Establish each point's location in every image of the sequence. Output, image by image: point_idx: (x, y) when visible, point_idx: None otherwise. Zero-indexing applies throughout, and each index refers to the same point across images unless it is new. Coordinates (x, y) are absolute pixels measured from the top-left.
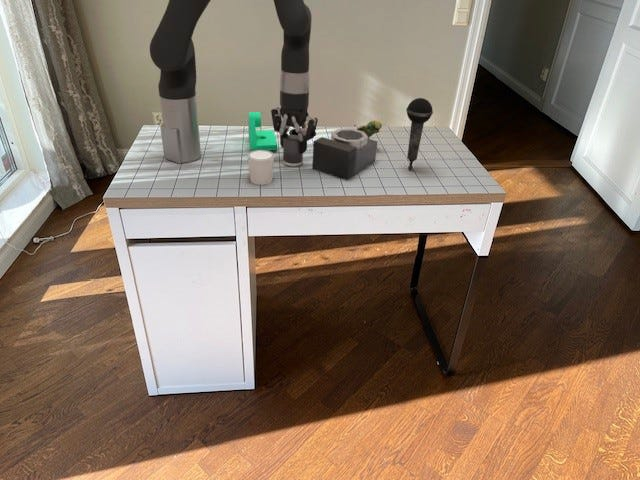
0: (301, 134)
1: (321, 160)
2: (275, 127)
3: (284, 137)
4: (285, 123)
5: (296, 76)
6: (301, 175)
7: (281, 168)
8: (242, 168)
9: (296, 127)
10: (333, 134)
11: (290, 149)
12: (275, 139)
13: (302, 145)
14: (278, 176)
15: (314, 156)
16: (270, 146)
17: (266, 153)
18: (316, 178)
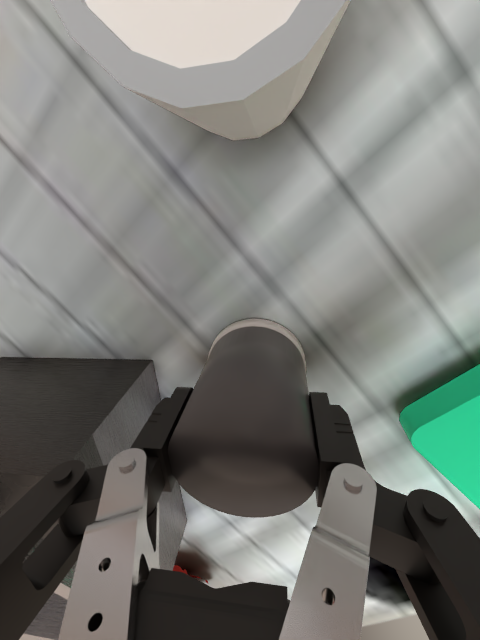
0: (103, 504)
1: (76, 391)
2: (445, 532)
3: (309, 453)
4: (287, 626)
5: None
6: (134, 279)
7: (256, 278)
8: (462, 101)
9: (106, 581)
10: (61, 586)
11: (221, 373)
12: (455, 481)
13: (151, 429)
14: (201, 186)
15: (109, 399)
16: (436, 410)
17: (181, 4)
18: (73, 298)
